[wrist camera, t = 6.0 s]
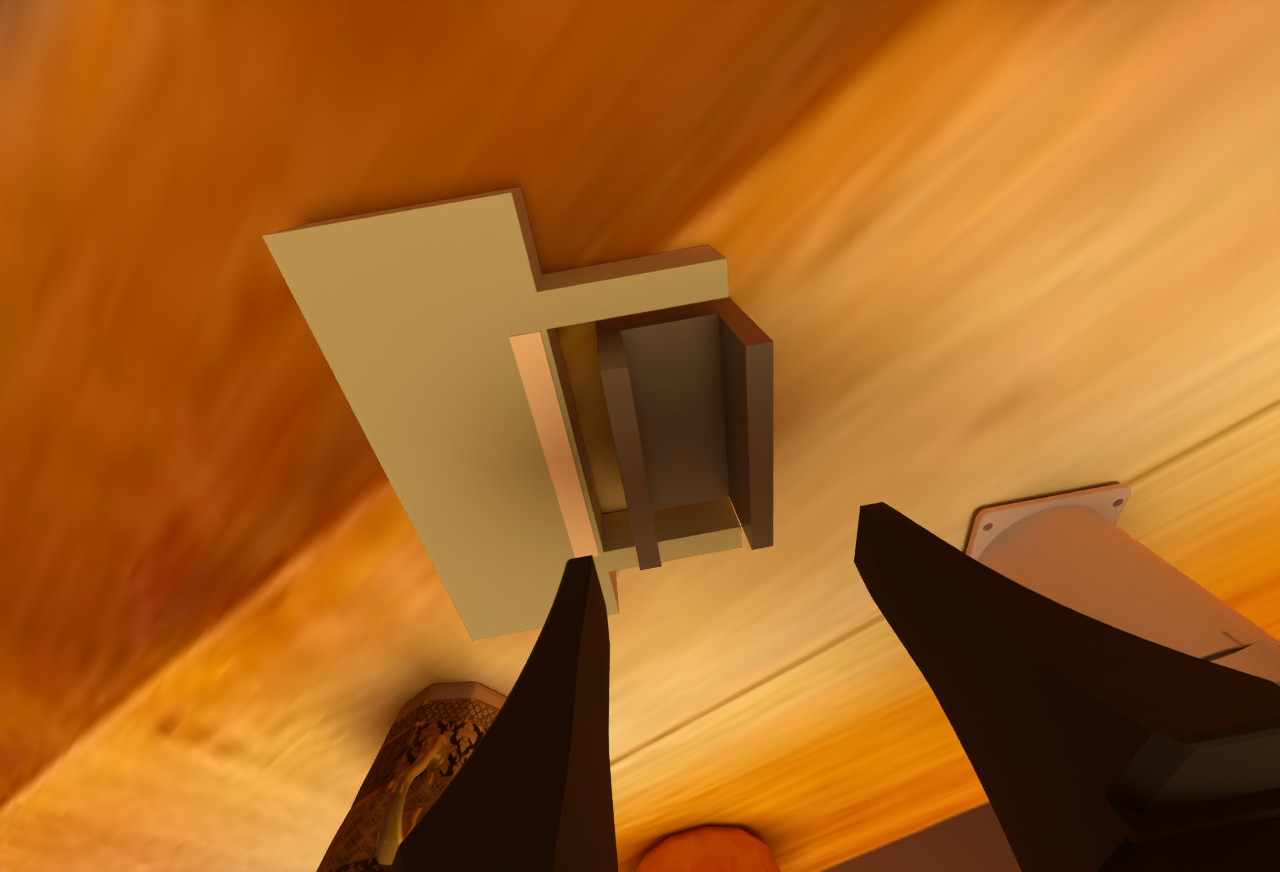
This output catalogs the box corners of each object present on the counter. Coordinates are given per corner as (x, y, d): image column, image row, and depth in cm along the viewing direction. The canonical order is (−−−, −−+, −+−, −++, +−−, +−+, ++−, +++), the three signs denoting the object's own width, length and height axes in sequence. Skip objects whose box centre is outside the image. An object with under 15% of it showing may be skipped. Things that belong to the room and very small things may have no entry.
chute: (734, 464, 23) (773, 546, 18) (628, 483, 22) (640, 570, 18) (725, 293, 18) (773, 341, 14) (595, 315, 18) (600, 372, 14)
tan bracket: (730, 552, 25) (744, 592, 23) (481, 598, 25) (471, 643, 23) (702, 155, 16) (723, 156, 14) (305, 223, 16) (259, 236, 13)
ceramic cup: (545, 751, 33) (533, 963, 24) (389, 762, 32) (319, 990, 23) (539, 623, 26) (519, 851, 18) (342, 631, 25) (220, 880, 17)
